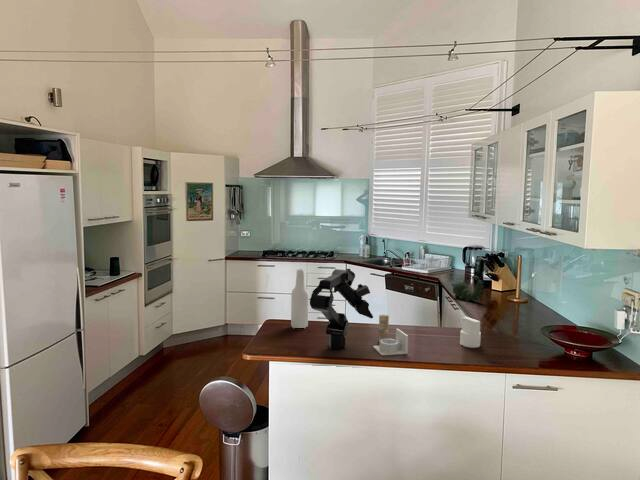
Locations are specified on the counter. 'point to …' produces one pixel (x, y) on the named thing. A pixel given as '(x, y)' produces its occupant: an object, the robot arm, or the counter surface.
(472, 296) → the toy figurine
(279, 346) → the counter surface
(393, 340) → the cup bracket
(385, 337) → the maple rail post
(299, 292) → the alcohol
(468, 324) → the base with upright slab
